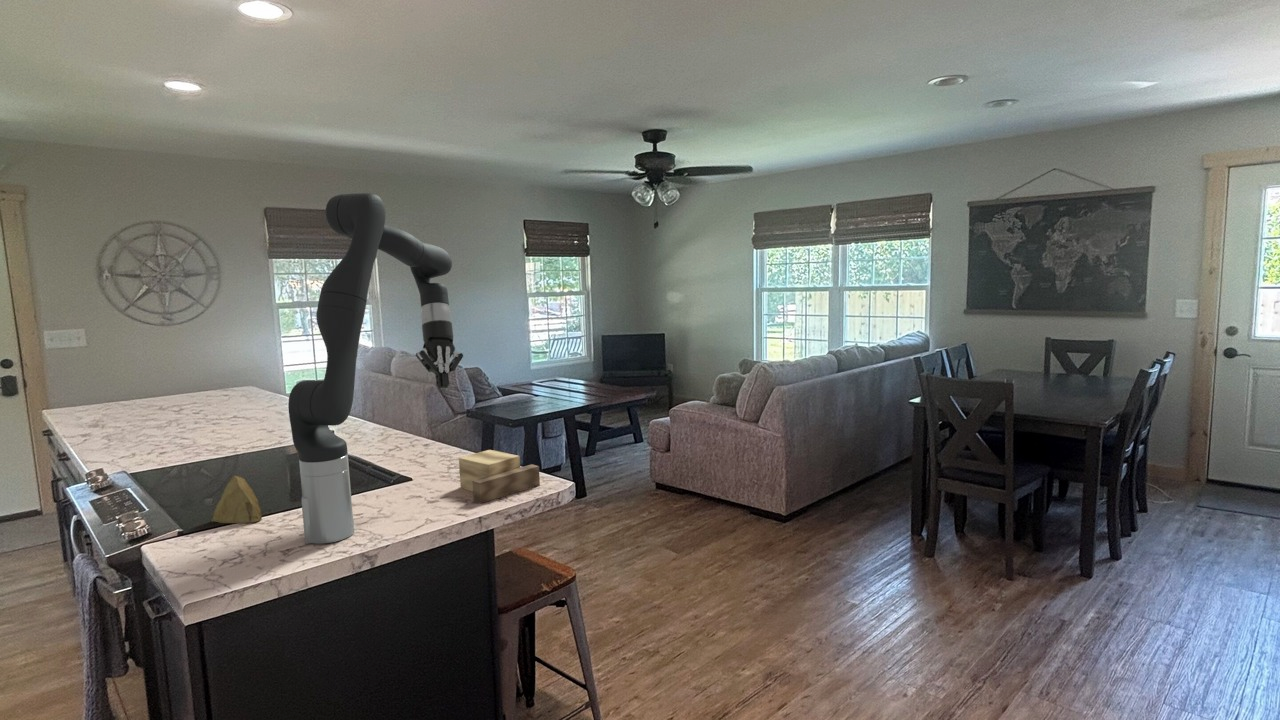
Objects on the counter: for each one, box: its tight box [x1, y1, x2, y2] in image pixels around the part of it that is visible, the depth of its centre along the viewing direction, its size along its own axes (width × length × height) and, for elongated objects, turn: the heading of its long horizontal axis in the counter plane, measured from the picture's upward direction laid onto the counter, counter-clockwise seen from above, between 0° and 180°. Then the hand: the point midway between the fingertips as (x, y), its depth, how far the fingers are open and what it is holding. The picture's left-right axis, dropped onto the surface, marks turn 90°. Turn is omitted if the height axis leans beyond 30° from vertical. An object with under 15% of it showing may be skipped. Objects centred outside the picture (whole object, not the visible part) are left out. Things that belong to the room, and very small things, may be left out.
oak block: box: [458, 449, 521, 492], centre depth 174 cm, size 10×12×8 cm
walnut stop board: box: [472, 463, 541, 504], centre depth 168 cm, size 18×3×5 cm, turn 137°
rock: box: [211, 475, 263, 524], centre depth 153 cm, size 11×9×10 cm
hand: (443, 388), depth 171 cm, fingers closed
